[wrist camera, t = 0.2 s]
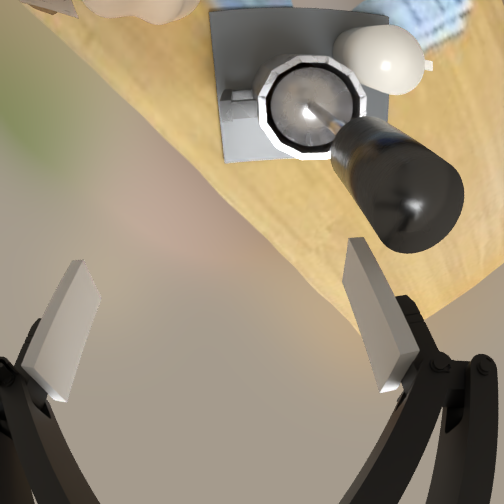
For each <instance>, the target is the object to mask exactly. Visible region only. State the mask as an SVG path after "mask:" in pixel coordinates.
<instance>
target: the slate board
mask: <svg viewBox="0 0 504 504" xmlns="http://www.w3.org/2000/svg"><path fill="white" fill-rule="evenodd" d="M209 16H210V27H211V38H212V48H213V58H214V68H215V78H216V87H217V97H218V106H219V116H220V125H221V134H222V143H223V152H224V160H225V163H234V162H245V161H258V160H272V159H288V158H296V157H294V156H292V155H290V154H288V153H286V152H284V151H282V150H279V149H277V148H276V147H275V146H274V144H273V143H272V141H271V140H270V138H269V137H268V136H267V134H266V133H265V131H264V130H263V129H262V127H261V126H260V124H259V120H258V117H256V118H243V119H233V122H223V123H222V122H221V112H220V103H219V101H220V98H221V95H222V92H223V90H225V89H232V90H243V89H252V81H253V80H254V78H255V76H256V74H257V72H258V70H259V68H260V66H261V65H262V64H264V63H266V62H267V61H269V60H271V59H272V58H274V57H276V56H278V55H279V54H307V55H321V56H329V57H331V58H332V59H333V54H332V53H333V45H334V43H335V41H336V39H337V37H338V36H339V35H340V34H341V33H343V32H344V31H346V30H348V29H351V28H358V27H367V26H377V25H389V17H387V16H381V15H375V14H368V13H361V12H353V11H343V10H332V9H316V8H251V9H236V10H225V11H215V12H209ZM361 86H362V88H363V90H364V92H365V94H366V96H367V103H366V116H372V117H377V118H379V119H382V120H384V121H385V122H387V121H388V104H389V94H387V93H384V92H381V91H378V90H376V89H373V88H370V87H367V86H364V85H361Z"/></svg>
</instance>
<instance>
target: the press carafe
mask: <svg viewBox="0 0 504 504" xmlns="http://www.w3.org/2000/svg"><path fill="white" fill-rule="evenodd" d="M304 67H316V68H321V69H324V70H327V71H329V72H331V73H333V74H335V75H336V76H338V77H339V78H340V79H341V80H342V81H343V82H344V83H345V85H346V86H347V88H348V90H349V92H350V94H351V97H352V103H353V111H352V117H351V120H353V119H355V118H358V117H363V116H366V103H367V96H366V94H365V92H364V90H363V88H362V86H361V84H360V83H359V81H358V79H357V77H356V75H355V73H354V72H353V71H352V70H350V69H349V68H347V67H345V66H344V65H342V64H341V63H339V62H337V61H336V60H334V59H332V58H331V57H329V56H321V55H307V54H279V55H278V56H276V57H274V58H272V59H271V60H269V61H267V62H266V63H264V64H262V65H261V66H260V68H259V70H258V72H257V74H256V76H255V78H254V80H253V81H252V89H243V90H232V89H225V90H223V92H222V95H221V98H220V101H219V103H220V112H221V122H222V123H223V122H233V119H243V118H256V117H258V120H259V124H260V126H261V127H262V129H263V130H264V131H265V133H266V134H267V136H268V137H269V138H270V140H271V141H272V143H273V144H274V146H275V147H276V148H277V149H279V150H282V151H284V152H286V153H288V154H290V155H292V156H294V157H296V158H298V159H300V160H311V159H329V158H330V151H331V145H332V142H333V141H331V142H329V143H327V144H324V145H319V146H305V145H301V144H298V143H295V142H293V141H291V140H290V139H288V138H287V137H285V136H284V135H283V134H282V133H281V132H280V130H279V129H278V128H277V126H276V124H275V122H274V120H273V118H272V114H271V108H270V102H271V96H272V93H273V90H274V88H275V86H276V85H277V83H278V82H279V81H280V80H281V79H282V78H283V77H284V76H285V75H286V74H288V73H289V72H291V71H293V70H296V69H299V68H304ZM351 120H350V121H351Z"/></svg>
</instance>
